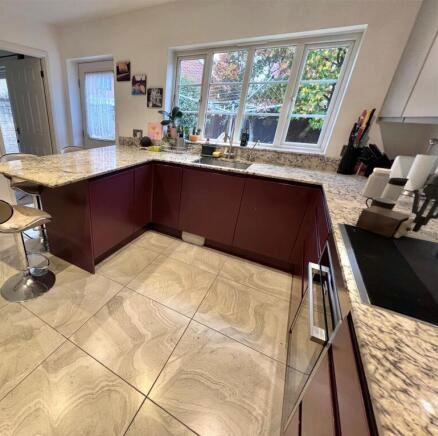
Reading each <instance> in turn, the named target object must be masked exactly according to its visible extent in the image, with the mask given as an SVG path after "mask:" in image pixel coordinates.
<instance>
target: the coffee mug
mask: <svg viewBox="0 0 438 436" xmlns="http://www.w3.org/2000/svg"><path fill="white" fill-rule="evenodd" d="M369 200H371V203H370V205H369V204H368V201H369ZM397 203H398V201H397V202H395V201H393V200H389V199H385V198H379V197H374V198H368V197H367V198H366V200H365V205H366V208H368V207H371V206H378V207H382V208H385V209H389V210H392V209H393V210H394V208H395V206H396V205H397ZM393 207H394V208H393Z"/></svg>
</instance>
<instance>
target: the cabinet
mask: <svg viewBox="0 0 438 436" xmlns="http://www.w3.org/2000/svg"><path fill="white" fill-rule="evenodd" d="M370 206H371V205H370ZM370 206H369V207H365V208H363V209H362V210H361V212H360V215H359V217H358V219H357V221H356V223H355V225H354V227H357V228H359V229H362V230H365V231H368V232H371V233H374V234H376V233H377V235H379V234H380V235H379V236H382V235H383V237H385V238H388V239H391V238H395V237H394V236H395V235H396V233H397V232H395V233H394V231H395V230H396V228H397V226H398V224H399V222H400V221H402V220H404V219H406V220H405V221H407V220H409V219H411V215H410V214H407V213H403V212H399V211H396V210H394V209H393V210H389V209H385V208H382V207H378V206H371V207H370ZM405 221H404V222H405Z"/></svg>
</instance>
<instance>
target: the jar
mask: <svg viewBox="0 0 438 436" xmlns="http://www.w3.org/2000/svg"><path fill="white" fill-rule="evenodd" d="M392 173H393V170H392V169H390V168H382V167H374V168H373V171H372V172H371V174H369V176H368V179H367V180H366V182H365V185H364V187H363V189H362V191H361V195H362V196H363V197H365V198H367V199H368V198H372V199H373V198H374V197H379V198H381V196H382V194H383V192H384V190H385V188H386V186H387V184H388V182H389V180H390V178H391V177H390V176H391V174H392Z"/></svg>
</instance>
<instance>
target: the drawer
mask: <svg viewBox="0 0 438 436" xmlns="http://www.w3.org/2000/svg"><path fill="white" fill-rule="evenodd" d="M414 219H415V218H413V217H410V218H409V219H408V220H407V221H405V220H406V219H404V220H402V221H400V222H399V224H398V226H397V228H396V230H395V231H394V233H395V232H397V233H396V235H395V236H394V237H393V238H395V239H399V238H401V237H403V236H405V235H407V234H408V233H409V232H412V229H413V228H412V226H413V224H414V223H413V221H414ZM404 221H405V222H404Z"/></svg>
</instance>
